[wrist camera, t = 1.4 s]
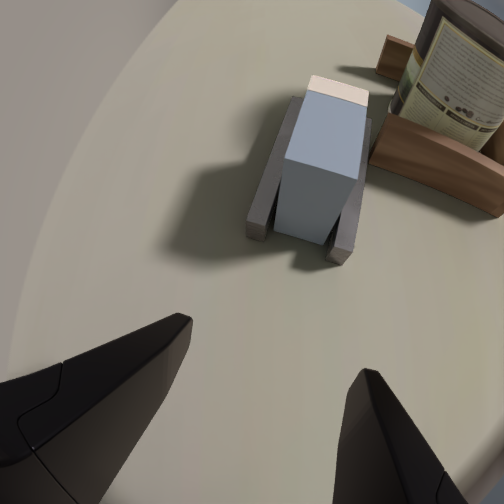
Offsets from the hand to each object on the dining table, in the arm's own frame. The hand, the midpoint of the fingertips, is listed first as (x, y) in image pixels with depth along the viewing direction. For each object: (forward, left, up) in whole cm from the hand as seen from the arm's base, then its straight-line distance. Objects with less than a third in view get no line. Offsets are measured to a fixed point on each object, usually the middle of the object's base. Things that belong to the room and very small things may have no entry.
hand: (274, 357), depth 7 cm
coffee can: (+25, -10, -12) cm, 29 cm away
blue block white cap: (+12, 0, -12) cm, 17 cm away
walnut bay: (+25, -10, -12) cm, 29 cm away
